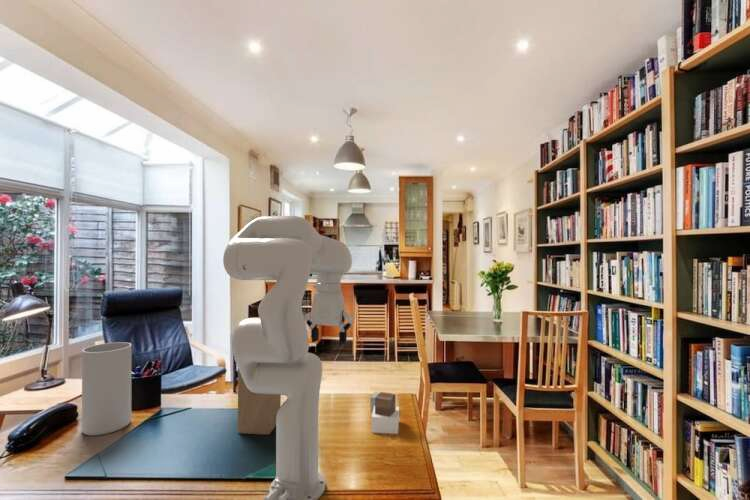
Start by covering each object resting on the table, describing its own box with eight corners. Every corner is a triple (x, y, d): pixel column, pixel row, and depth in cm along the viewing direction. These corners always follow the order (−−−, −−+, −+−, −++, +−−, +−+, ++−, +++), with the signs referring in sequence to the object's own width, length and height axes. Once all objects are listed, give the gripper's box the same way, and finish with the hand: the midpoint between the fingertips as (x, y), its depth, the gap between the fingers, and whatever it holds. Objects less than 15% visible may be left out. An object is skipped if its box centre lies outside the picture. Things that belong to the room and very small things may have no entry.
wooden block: (281, 420, 119) (281, 358, 119) (269, 435, 109) (269, 368, 109) (251, 418, 120) (251, 358, 120) (237, 433, 110) (237, 367, 110)
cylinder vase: (112, 436, 108) (112, 352, 108) (70, 436, 108) (71, 352, 108) (140, 417, 120) (140, 342, 120) (103, 417, 121) (103, 342, 121)
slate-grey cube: (384, 414, 123) (384, 399, 123) (370, 411, 125) (370, 397, 125) (388, 408, 128) (388, 393, 128) (375, 406, 130) (375, 392, 130)
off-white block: (397, 434, 109) (397, 418, 110) (371, 433, 110) (371, 416, 110) (398, 422, 117) (398, 406, 117) (374, 421, 118) (374, 405, 118)
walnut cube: (390, 416, 110) (390, 400, 111) (375, 413, 112) (375, 397, 112) (395, 409, 115) (395, 394, 115) (381, 407, 117) (380, 391, 117)
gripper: (298, 288, 114) (298, 343, 114) (348, 290, 108) (348, 348, 108) (311, 286, 121) (311, 337, 121) (358, 288, 115) (358, 342, 115)
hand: (328, 342), depth 115 cm, fingers open, 9 cm apart
